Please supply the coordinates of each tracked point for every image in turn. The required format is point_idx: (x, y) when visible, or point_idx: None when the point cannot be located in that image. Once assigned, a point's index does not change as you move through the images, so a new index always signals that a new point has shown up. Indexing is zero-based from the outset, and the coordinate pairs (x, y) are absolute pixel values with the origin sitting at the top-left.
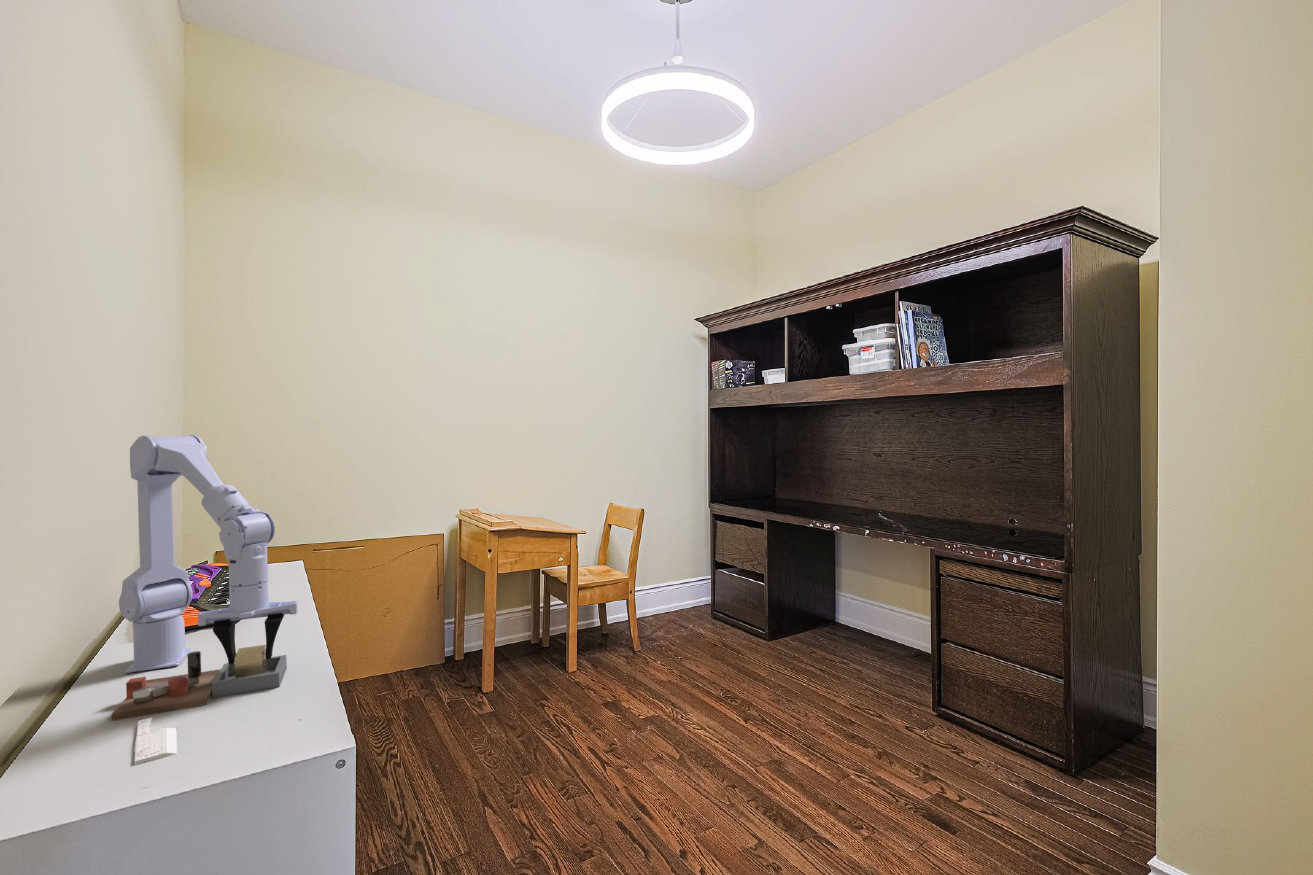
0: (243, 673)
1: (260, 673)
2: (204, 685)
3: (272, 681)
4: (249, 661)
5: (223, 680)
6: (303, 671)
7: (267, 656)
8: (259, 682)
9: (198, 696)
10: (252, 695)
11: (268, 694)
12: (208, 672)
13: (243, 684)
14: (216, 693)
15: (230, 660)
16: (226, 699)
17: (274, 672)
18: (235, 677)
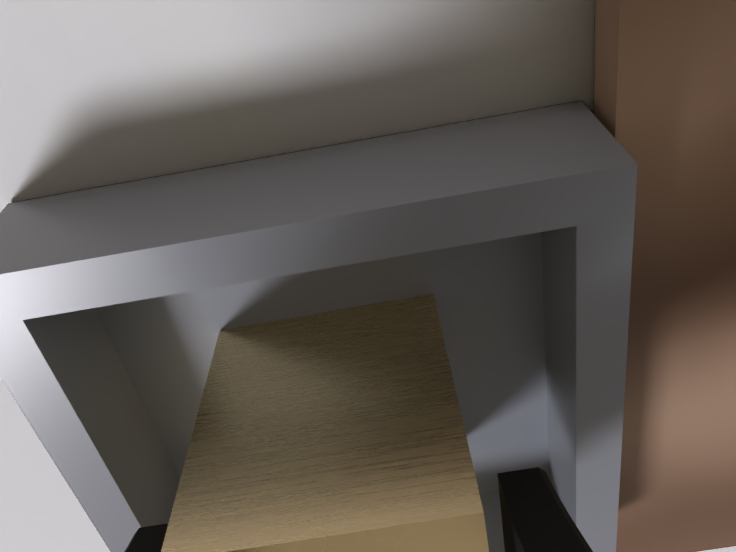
0: (375, 369)
1: (225, 374)
2: (697, 304)
3: (44, 226)
4: (311, 468)
5: (521, 216)
6: (2, 467)
7: (151, 546)
8: (159, 210)
9: (717, 15)
10: (180, 44)
11: (4, 21)
12: (703, 529)
13: (307, 184)
14: (552, 122)
15: (535, 501)
16: (422, 8)
17: (12, 308)
18: (443, 338)
